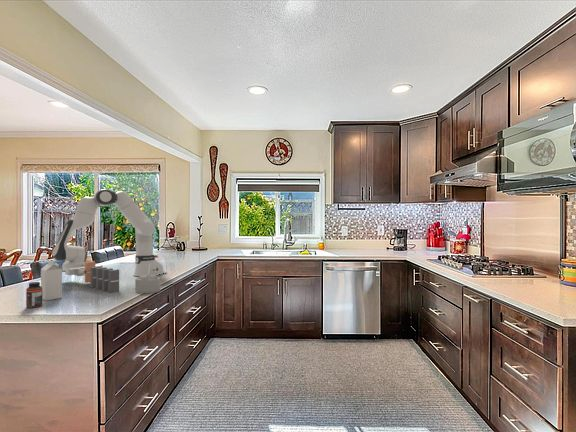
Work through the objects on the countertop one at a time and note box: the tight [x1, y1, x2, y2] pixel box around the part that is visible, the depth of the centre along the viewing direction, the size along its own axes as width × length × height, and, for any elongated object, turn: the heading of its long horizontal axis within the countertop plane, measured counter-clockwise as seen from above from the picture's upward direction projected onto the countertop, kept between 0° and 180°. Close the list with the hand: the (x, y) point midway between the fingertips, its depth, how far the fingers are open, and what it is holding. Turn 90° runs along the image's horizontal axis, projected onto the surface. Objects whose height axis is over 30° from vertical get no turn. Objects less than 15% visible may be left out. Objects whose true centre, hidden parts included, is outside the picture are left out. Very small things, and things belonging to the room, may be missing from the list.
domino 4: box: [107, 269, 120, 294], centre depth 184 cm, size 2×5×12 cm, turn 146°
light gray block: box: [134, 274, 161, 294], centre depth 187 cm, size 10×13×9 cm
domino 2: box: [95, 266, 108, 291], centre depth 191 cm, size 2×5×12 cm, turn 146°
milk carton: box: [40, 260, 63, 302], centre depth 168 cm, size 7×7×19 cm
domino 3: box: [101, 267, 114, 292], centre depth 187 cm, size 2×5×12 cm, turn 146°
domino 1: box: [90, 266, 101, 289], centre depth 195 cm, size 2×5×12 cm, turn 146°
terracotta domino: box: [84, 260, 96, 284], centre depth 198 cm, size 2×5×12 cm, turn 146°
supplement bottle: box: [25, 281, 43, 309], centre depth 153 cm, size 6×6×11 cm
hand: (90, 271), depth 198 cm, fingers closed on terracotta domino, 5 cm apart
